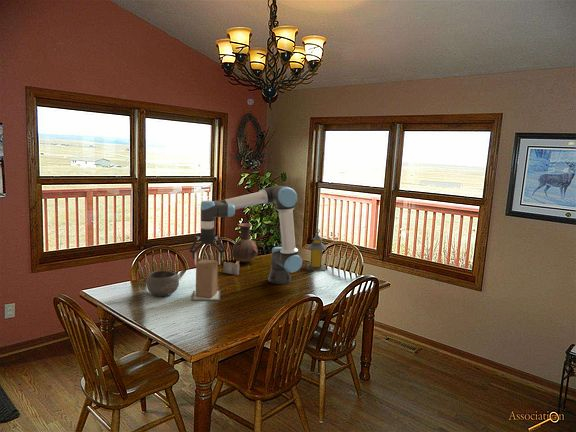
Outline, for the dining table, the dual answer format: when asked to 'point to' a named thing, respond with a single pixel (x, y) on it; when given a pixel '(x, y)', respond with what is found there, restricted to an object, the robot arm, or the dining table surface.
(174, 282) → the bowl
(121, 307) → the dining table surface
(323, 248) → the lantern
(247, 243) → the vase
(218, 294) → the mat
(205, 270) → the wooden block
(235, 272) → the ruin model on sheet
